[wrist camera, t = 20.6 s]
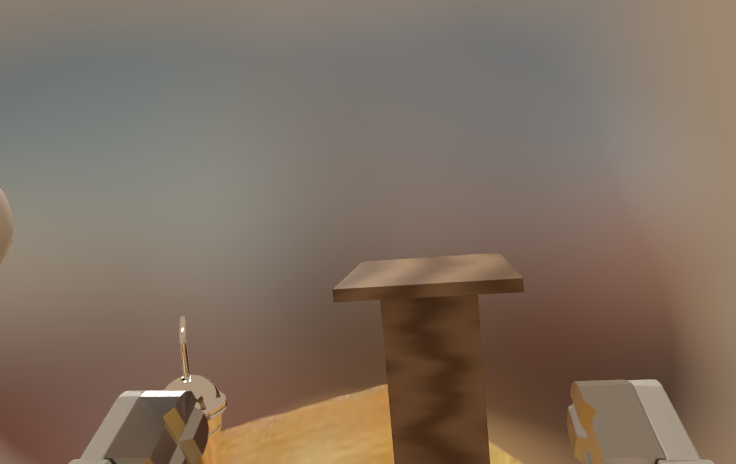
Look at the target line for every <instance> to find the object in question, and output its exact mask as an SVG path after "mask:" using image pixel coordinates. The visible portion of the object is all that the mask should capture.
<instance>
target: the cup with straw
mask: <svg viewBox="0 0 736 464" xmlns="http://www.w3.org/2000/svg"><path fill="white" fill-rule="evenodd" d="M179 336H180V337H179V338H180V348H181V357H182V365H183V373H184V376H183V377H180V378H178V379H176V380H174V381H173V382H171V383H170V384H169V385H168V386H167V387H166V388H165V389H164V391H192V392H193V394H194V396H195V397H196V399H197V402H196V404H195V406H194V407H196V408H197V409H199V410H201V411H202V412H204V414H205V416H206V418H207V420H208V426H209V433H208V441H207V445H206V448H205V450H204V453H203V456H201V457H200V458H199V459H198V460H197V461H196V462H195V463H194V464H220V429H221V421H222V412H224V411H225V409H226V408H227V406H228V401H227V400H226V396H225V395H224V394H223V393H221V392H219V391H218V389H217V387H216V386H215V385H214V384H213V382H212V381H210V380H209V379H208V378H206V377H203V376H199V375H190V369H189V361H188V352H187V344H186V317H184V316H182V317H181V318H180V334H179Z"/></svg>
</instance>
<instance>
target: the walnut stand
mask: <svg viewBox="0 0 736 464" xmlns="http://www.w3.org/2000/svg"><path fill="white" fill-rule="evenodd" d="M513 292H524V286H523V278H522V277H521V276H520V274H519V273H518V272H517V271H516V270H515V269H514V268H513V267H512V266H511V265H510V264H509V263H508V262H507V261H506V260H505V259H504V258H503V256H502V255H501V254H499V253H490V254H489V253H488V254H473V255H458V256H443V257H429V258H415V259H399V260H386V261H385V260H384V261H369V262H362V263H361V264H360V265H358V266H357V267H356V268H355V269H354V270H353V271H352V272H351V273H350V274H349V275H348V276H347V277H345V279H343V280H342V281H341V282H340V283H339V284H338V285H337V286H336V287H335V288H334V289H333V299H334V302H348V301H365V300H380V302H381V314H382V324H383V325H382V326H383V337H384V348H385V359H386V371H387V382H388V394H389V405H390V416H391V428H392V439H393V450H394V462H395V464H490V457H489V443H488V429H487V416H486V403H485V389H484V375H483V361H482V348H481V333H480V320H479V306H478V294H494V293H513Z"/></svg>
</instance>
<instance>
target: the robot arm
mask: <svg viewBox="0 0 736 464" xmlns="http://www.w3.org/2000/svg"><path fill="white" fill-rule="evenodd" d="M12 236H13V217H12V212H11V209H10V205H9V203H8V200H7V198H6V196H5V194H4V192H3V191H2V189H1V188H0V266H1V264H2V263H3V261H4V259H5V257H6V255H7V253H8V251H9V248H10V245H11V242H12ZM571 396H572V400H573V404H572V405H571V406H569V407H568V416H567V421H568V433H569V438H570V442H571V446H572V450H573V453H574V456H575V457H576V458H578V459H579V460H580V461H581V462H582V463H583V464H714V463H713V462H712V461H711V460H701V459H700V457H699V455H698V453H697V451H696V449H695V447H694V445H693V444H692V442H691V440H690V438H689V436H688V434H687V432H686V430H685V429H684V427H683V425H682V423H681V421H680V419H679V417H678V415H677V413H676V411H675V409H674V408H673V406H672V404H671V402H670V400H669V398H668V396H667V395H666V392H665V390H664V389H663V387H662V385H661V384H660V383H659V382H658V381H657V380H653V379H652V380H628V381H627V380H601V381H575V382H574V383H573V384H572V387H571ZM196 402H197V399H196V397H195V396H194V394H193V392H192V391H125V392H124V393H123V394H121V395H120V396H119V397H118V398H117V400H116V401H115V403H114V405H113V406H112V408H111V409H110V411H109V413H108V414H107V416H106V418H105V419H104V421H103V422H102V424H101V426H100V427H99V429H98V431H97V432H96V434H95V435H94V437H93V439H92V440H91V442H90V443H89V445H88V447H87V448H86V450H85V452H84V453H83V455H82V456H81V458H80V459H74V460H72V461H71V462H70V463H68V464H194V463H195V462H196V461H197V460H198V459H199V458H200V457H201V456H203V453H204V450H205V448H206V445H207V441H208V433H209V426H208V420H207V418H206V416H205V414H204V412H202V411H201V410H199V409H197V408H196V407H194V406H195V404H196Z"/></svg>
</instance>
